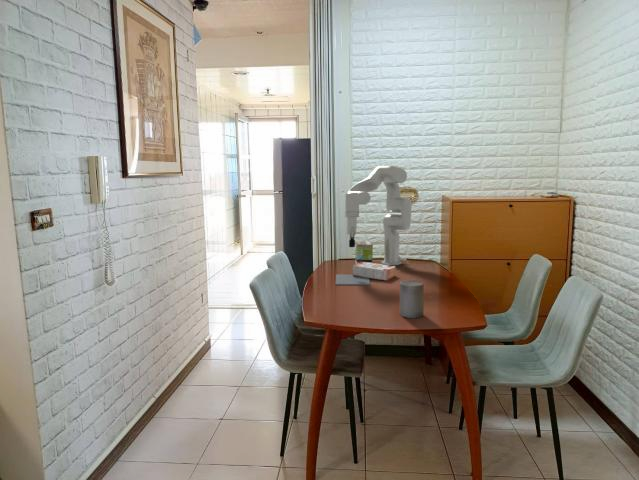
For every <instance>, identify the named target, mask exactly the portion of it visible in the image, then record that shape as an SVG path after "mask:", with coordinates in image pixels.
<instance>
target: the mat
mask: <svg viewBox="0 0 639 480" xmlns="http://www.w3.org/2000/svg"><path fill="white" fill-rule="evenodd" d="M335 286H371V283H370V278H367V277H361V276H355V275H352V273H351V274H350V273H349V274H345V273H344V274H343V273H342V274H339V273H338V274H337V273H336V274H335Z"/></svg>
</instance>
